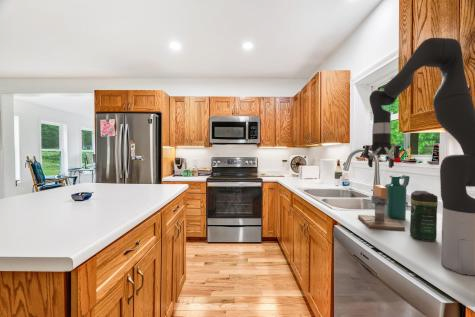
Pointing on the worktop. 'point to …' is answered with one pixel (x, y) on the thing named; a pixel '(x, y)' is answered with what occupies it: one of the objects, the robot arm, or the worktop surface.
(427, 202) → the coffee jar
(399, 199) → the square teal bottle
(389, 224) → the stand
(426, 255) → the worktop surface
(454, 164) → the robot arm
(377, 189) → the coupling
